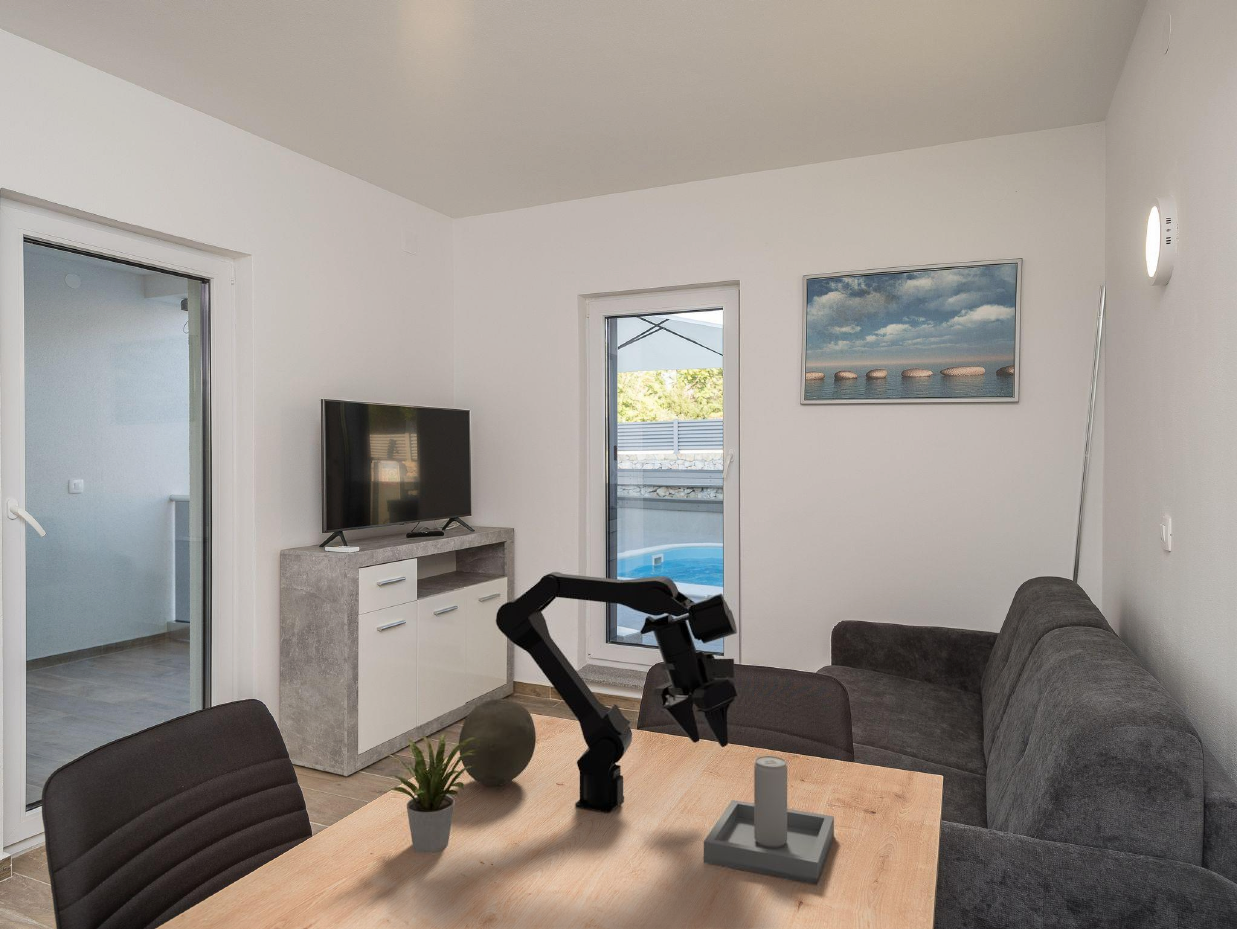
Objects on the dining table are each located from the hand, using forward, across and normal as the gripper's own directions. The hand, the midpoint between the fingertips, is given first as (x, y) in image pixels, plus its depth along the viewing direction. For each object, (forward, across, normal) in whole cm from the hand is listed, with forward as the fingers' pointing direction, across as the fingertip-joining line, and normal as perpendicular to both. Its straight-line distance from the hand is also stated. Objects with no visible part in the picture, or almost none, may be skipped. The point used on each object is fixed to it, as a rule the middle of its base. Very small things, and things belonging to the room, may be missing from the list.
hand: (710, 743), depth 130 cm
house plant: (-2, +10, +44) cm, 45 cm away
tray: (+14, -11, +2) cm, 18 cm away
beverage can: (+14, -11, +1) cm, 18 cm away
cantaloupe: (-2, +28, +29) cm, 40 cm away
